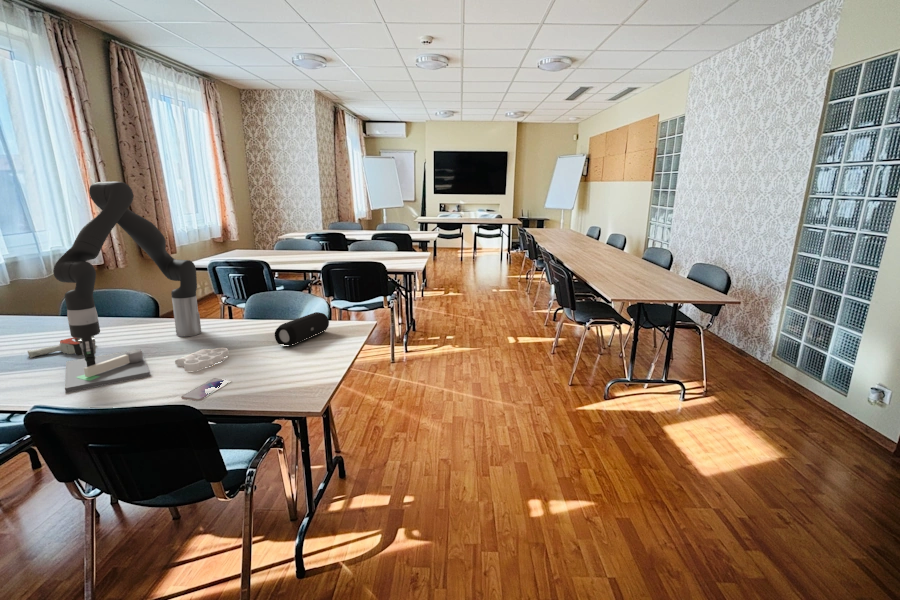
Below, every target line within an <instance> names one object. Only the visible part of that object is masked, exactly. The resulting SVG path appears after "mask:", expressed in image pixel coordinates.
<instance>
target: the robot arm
mask: <svg viewBox="0 0 900 600" xmlns="http://www.w3.org/2000/svg"><path fill="white" fill-rule="evenodd" d="M88 193H89V197H90V199H91V200H92V202H93V203H94V204H95V205H96V206H97V207H98V208H99V209H100V210H101V211H100V212H99V213H98V214H97V215H96V216H95V217H93V218H92V220H90V221H89V222H87V223H86V224H85V225H84V226H83V227H82V228H81V230H80V231H79V233H78V235H77V236H76V238H75V240H74V242H73V244H72V246H71V247H70V248H69V249H68V250H67V251H65V253H63V254H62V255H61V257H59V258H58V260H57V261H56V263H55V264H54V267H53V269H52V271H53V272H52V273H53V277H54V278H55V279H56V280H57V281H59V282H62V283H70V284H71V283H72V284H75V288H74V289H71V290H68V291H66V292H65V294H64V301H65V305H66V310H67V311H66V312H67V313H66V314H67V315H66V317H67V321H68V327H69V333H70V336H71V338H82V340H79V341H80V342H79V343H80V347H81V349H82V354H83V355H82V356H84V358H85V360H86V362H87V367H89V366H92V365H95V364H96V363H95V359H96V358H95V357H96V355H95V354H96V353H97V351H96V339H94V338H95V336H97V335H99V334H101V329H100V323H99V316H98V312H97V309H96V305H95V300H94V299H95V298H94V290H95V285H96V284H95V283H96V279H97V272H96V268H95V266H94V265H93V264H92V263H91V262H89V261H91V260H95V259H96V258H98V256H99V254H100V252H101V250H102V248H103V247H104V244H105V242H106V240H107V238H108V237H109V235H110V233H111V232H112V230H113V229H114V228H115V226H116V225H118V226H120V228H121V229H122V230H123V231H125V232H126V233H127V235H128V236H129V237H130V238H132V240H133V241H134V243H136V245H137V246H138V247H139V248H141V250H143V251H144V252H145V254H147V255H148V257H149V258H150V259H151V260H152V261H153V262H154V264H155V265H156V266H157V267H158V269H159V270H160V271H161V273H162V274H163V275H164V276H165V277H166V278H167V279H168V280H170V281H175V282H179V287H177V288H175V289H172V290H171V293H170V295H171V302H172V309H173V319H174V324H175V325H174V326H175V333H176V334H175V335H176V336H177V337H179V338H180V337H182V338H184V337H193V336H197V335H199V334H202V325H201V318H200V317H201V315H200V312H199V308H198V300H197V290H198V280H197V269H196V265H195V263H194V261H191V260H189V259H176V258H174V257H173V256H171V255H170V254H169V252H168V251H167V249H166V247H167V246H166V244H167V243H166V238H165V236H164V234H163V233H162V232H161V230H160V229H159V228H158V227H157V226H156V225H155V224H154V223H152V222H151V221H150V220H148V219H147V218H145V217H143V216H141V215H139V214H138V213H135V212H133V211H132V210H131V209H129V208H130V206H131V205H132V203H133V201H134V192H133V189H132V187H130V185H129V184H127V183H125V182H123V181H98V182H94V183H92V184H91V185H90V186H89V188H88ZM91 336H94V338H91Z"/></svg>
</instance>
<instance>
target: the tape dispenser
mask: <svg viewBox="0 0 900 600" xmlns="http://www.w3.org/2000/svg"><path fill="white" fill-rule="evenodd" d="M91 338H94V339H95V336H91ZM79 340H82V338H74V337H69V338H65V339H61V340H59V344H57V345H54V346H47V347H40V348H36V349H31V350H30V349H28V350H27V355H28V357H29V358H30V359H32V358H34V357H38V356H39V357H40V356H43V355H44V356H45V355H49V354H52V353H56V352H62V353H63V354H65V353H67V354H66V355H74V354H75V355H76V356H84V355H83V354H82V349H81V347H80V343H79V342H80V341H79ZM95 340H96V339H95Z"/></svg>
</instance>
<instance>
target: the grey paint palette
mask: <svg viewBox="0 0 900 600" xmlns="http://www.w3.org/2000/svg"><path fill="white" fill-rule="evenodd" d="M226 356H229V357H230V353H229V349H228V348H227V347H216V348H211V349H208V348H201V349H200V350H197V351H195V352H192V353H190V354H187V355H185V356H182V357H179V358H177V359H175V361H174V363H175V365H177V366H178V367H184V371H185V372H186V371H196V372H198V371H197V370H199V371H201V370H203V369H202V368H204V369H206V368H205V367H209V366H212V365H214V364H215V363H218V362H221V361H223V360H224V361H225V360H226V359H227V358H224V357H226ZM224 361H223V362H224ZM221 363H222V362H221ZM218 364H219V363H218ZM214 366H215V365H214ZM212 367H213V366H212ZM209 368H210V367H209ZM200 369H201V370H200Z"/></svg>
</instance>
